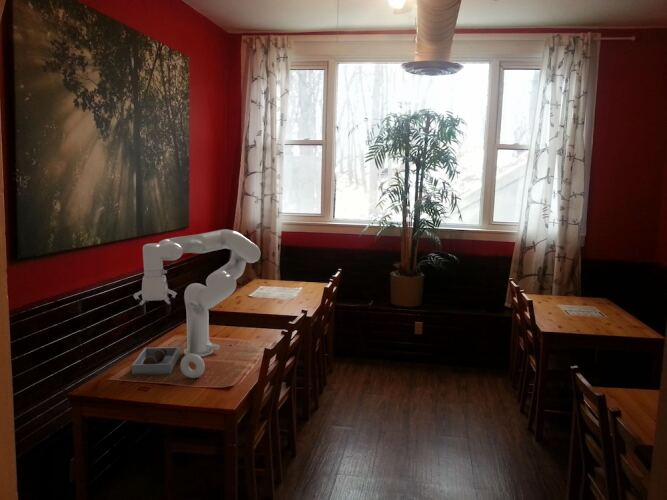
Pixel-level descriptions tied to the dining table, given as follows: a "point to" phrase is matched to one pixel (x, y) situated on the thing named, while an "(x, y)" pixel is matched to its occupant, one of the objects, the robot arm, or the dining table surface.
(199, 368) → the donut
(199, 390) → the dining table surface
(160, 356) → the bolt
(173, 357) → the bin
